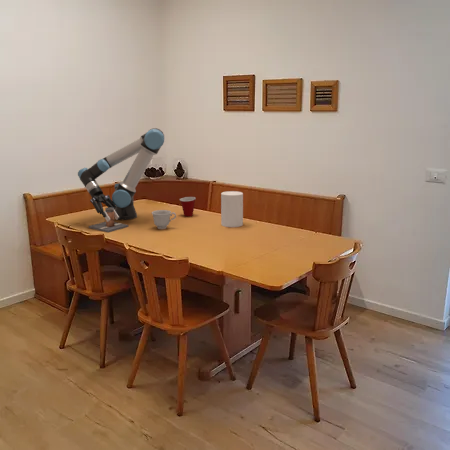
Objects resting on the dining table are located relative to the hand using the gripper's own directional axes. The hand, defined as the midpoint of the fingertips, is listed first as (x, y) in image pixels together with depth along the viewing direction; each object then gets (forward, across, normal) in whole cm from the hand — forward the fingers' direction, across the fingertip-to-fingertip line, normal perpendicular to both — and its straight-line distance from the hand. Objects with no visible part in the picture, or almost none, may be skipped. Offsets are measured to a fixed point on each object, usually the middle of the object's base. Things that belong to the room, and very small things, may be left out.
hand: (113, 219), depth 295 cm
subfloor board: (0, -1, -8) cm, 8 cm away
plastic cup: (+14, -53, +6) cm, 55 cm away
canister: (+41, -51, +33) cm, 73 cm away
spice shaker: (+1, 0, -6) cm, 6 cm away
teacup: (+21, -20, +12) cm, 31 cm away
